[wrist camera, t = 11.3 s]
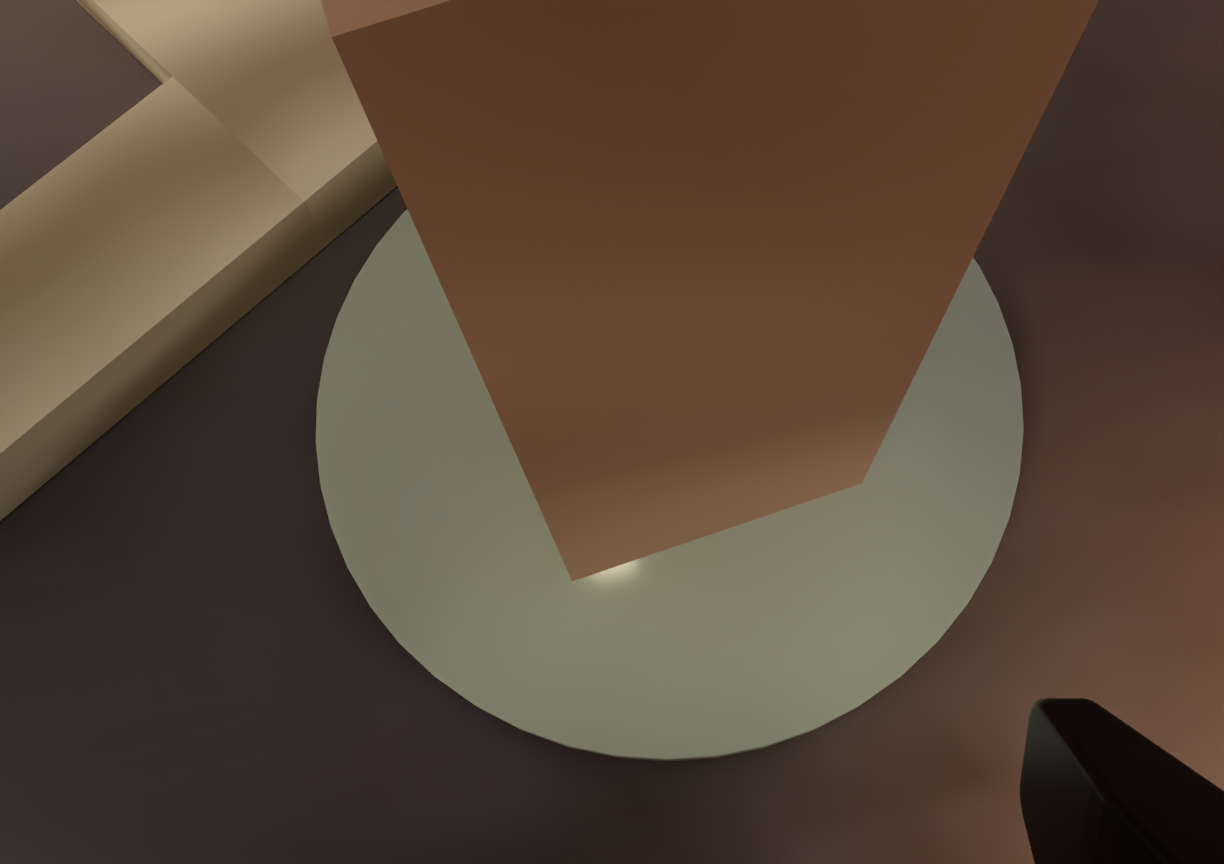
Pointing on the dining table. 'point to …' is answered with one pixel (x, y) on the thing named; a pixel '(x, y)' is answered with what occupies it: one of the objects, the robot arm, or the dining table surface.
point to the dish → (670, 579)
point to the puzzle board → (173, 217)
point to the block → (699, 226)
